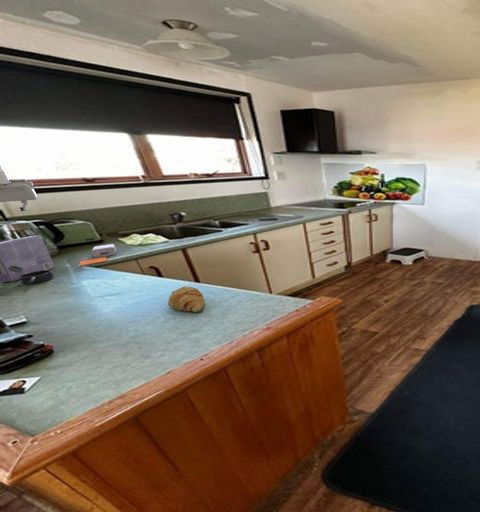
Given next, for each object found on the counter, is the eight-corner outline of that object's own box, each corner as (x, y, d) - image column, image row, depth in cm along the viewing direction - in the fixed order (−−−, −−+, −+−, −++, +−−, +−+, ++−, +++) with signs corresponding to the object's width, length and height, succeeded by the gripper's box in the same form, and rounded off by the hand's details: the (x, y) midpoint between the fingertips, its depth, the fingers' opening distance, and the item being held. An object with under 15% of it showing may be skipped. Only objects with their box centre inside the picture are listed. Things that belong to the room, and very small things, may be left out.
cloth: (79, 266, 141) (79, 265, 141) (81, 261, 148) (80, 261, 148) (106, 261, 147) (106, 260, 147) (106, 257, 154) (106, 256, 154)
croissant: (211, 318, 96) (218, 296, 97) (179, 318, 88) (187, 294, 88) (185, 301, 107) (192, 282, 108) (155, 300, 99) (162, 279, 100)
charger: (117, 248, 170) (116, 254, 159) (96, 252, 164) (94, 258, 153) (114, 241, 168) (113, 246, 158) (94, 244, 163) (91, 250, 152)
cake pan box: (48, 267, 140) (33, 234, 134) (58, 267, 140) (44, 233, 134) (1, 282, 122) (-19, 245, 116) (12, 282, 122) (-7, 245, 116)
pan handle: (29, 284, 114) (27, 281, 114) (32, 279, 119) (31, 276, 118) (33, 283, 115) (32, 280, 114) (36, 278, 120) (35, 276, 119)
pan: (21, 286, 117) (17, 279, 116) (25, 280, 124) (22, 273, 122) (52, 280, 123) (49, 273, 122) (55, 275, 129) (52, 268, 128)
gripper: (32, 178, 124) (44, 208, 129) (-46, 180, 111) (-30, 214, 115) (29, 179, 120) (42, 210, 124) (-53, 181, 107) (-35, 216, 111)
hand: (7, 212), depth 120 cm, fingers open, 8 cm apart
